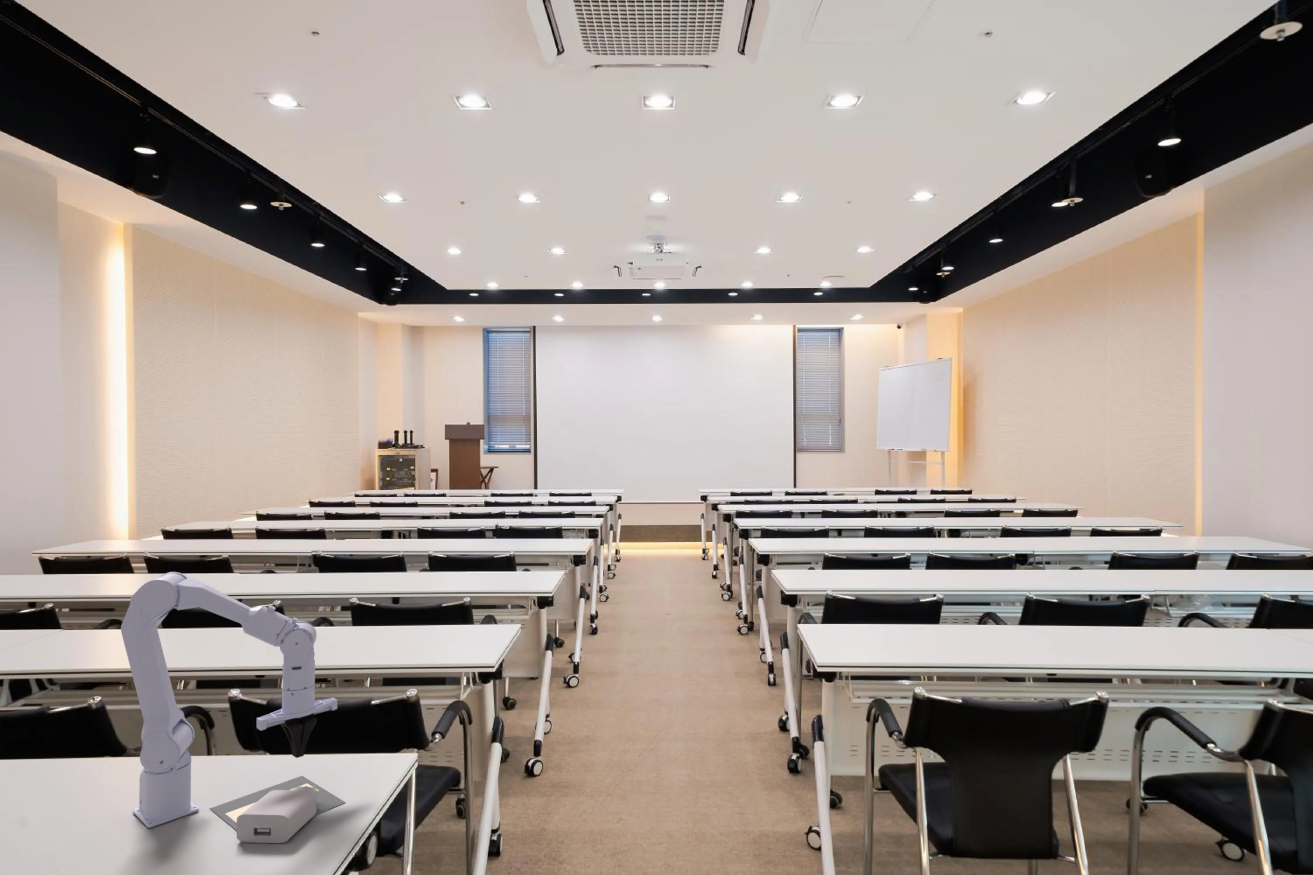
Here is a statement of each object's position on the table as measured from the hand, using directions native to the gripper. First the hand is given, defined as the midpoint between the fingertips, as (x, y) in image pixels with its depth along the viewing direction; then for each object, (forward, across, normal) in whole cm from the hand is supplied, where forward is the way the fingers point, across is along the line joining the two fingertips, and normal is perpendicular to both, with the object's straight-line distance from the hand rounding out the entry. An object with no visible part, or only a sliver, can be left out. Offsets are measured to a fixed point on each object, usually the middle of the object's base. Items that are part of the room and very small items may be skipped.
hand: (298, 755), depth 136 cm
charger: (+8, +5, +9) cm, 13 cm away
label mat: (+7, +4, +2) cm, 9 cm away
